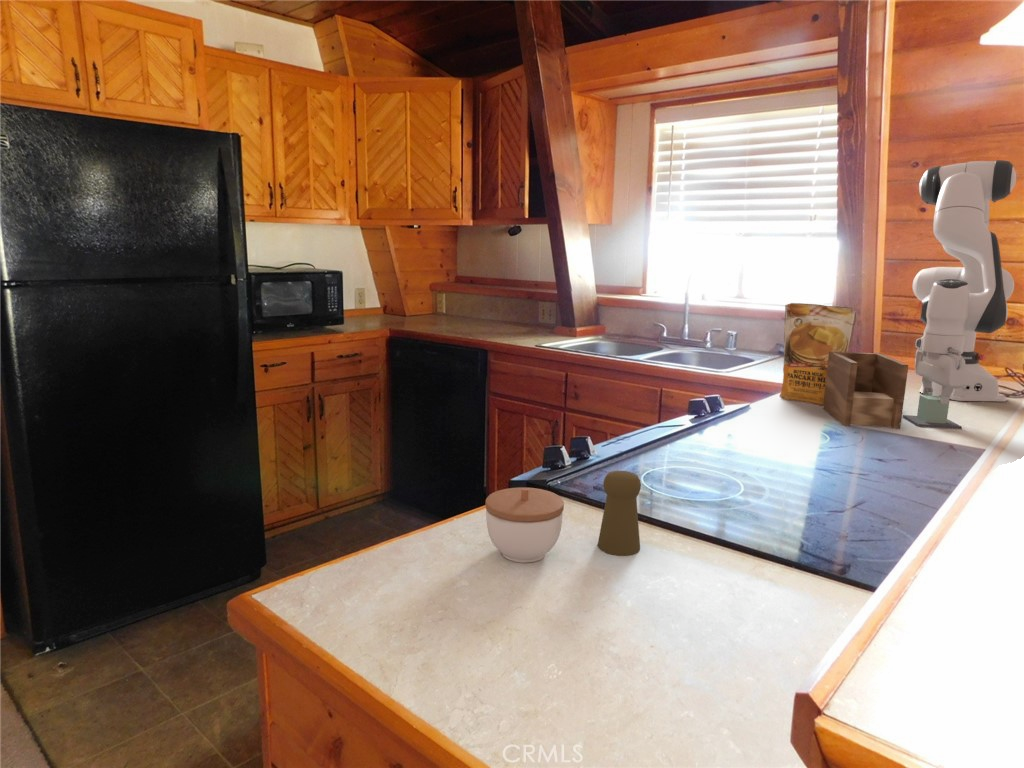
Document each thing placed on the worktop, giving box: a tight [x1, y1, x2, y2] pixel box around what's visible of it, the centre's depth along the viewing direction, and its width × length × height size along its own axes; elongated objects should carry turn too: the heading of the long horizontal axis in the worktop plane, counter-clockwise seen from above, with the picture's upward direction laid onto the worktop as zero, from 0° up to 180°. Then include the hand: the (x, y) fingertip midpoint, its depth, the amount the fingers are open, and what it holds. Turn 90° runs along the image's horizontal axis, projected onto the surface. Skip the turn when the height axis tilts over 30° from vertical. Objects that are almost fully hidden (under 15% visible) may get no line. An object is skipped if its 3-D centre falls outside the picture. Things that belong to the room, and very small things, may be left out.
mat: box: [902, 414, 963, 430], centre depth 174 cm, size 10×10×1 cm
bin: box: [822, 351, 909, 430], centre depth 176 cm, size 13×20×16 cm, turn 170°
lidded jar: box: [485, 487, 565, 564], centre depth 93 cm, size 11×11×9 cm
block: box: [916, 394, 951, 423], centre depth 173 cm, size 5×5×6 cm
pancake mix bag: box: [779, 302, 857, 406], centre depth 195 cm, size 7×19×28 cm, turn 45°
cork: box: [597, 470, 642, 557], centre depth 96 cm, size 6×6×11 cm
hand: (935, 399), depth 173 cm, fingers open, 8 cm apart
